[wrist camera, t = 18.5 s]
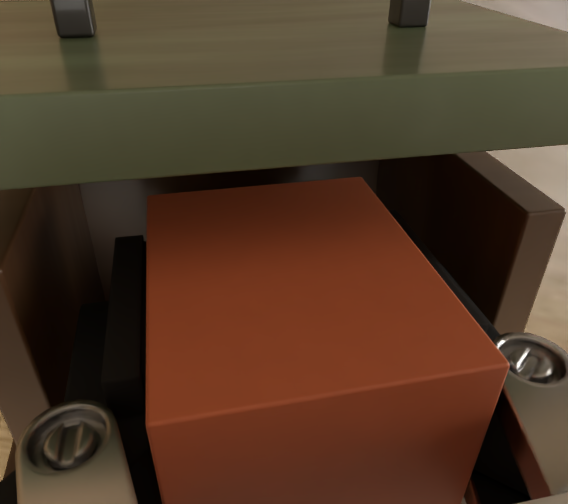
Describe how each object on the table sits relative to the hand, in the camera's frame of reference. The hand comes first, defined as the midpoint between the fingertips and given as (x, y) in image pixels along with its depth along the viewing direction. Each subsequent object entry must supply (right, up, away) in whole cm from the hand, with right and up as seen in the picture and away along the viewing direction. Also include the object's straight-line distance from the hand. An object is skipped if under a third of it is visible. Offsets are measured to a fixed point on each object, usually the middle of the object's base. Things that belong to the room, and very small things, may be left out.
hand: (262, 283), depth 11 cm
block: (0, 0, 0) cm, 0 cm away
